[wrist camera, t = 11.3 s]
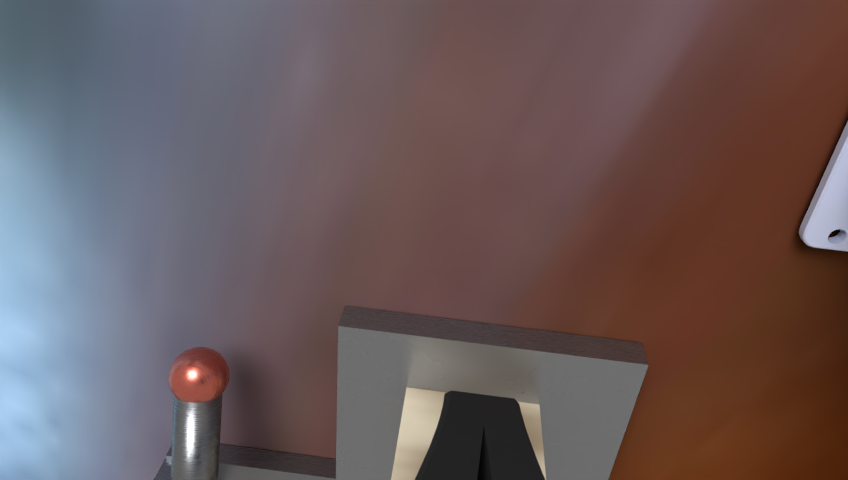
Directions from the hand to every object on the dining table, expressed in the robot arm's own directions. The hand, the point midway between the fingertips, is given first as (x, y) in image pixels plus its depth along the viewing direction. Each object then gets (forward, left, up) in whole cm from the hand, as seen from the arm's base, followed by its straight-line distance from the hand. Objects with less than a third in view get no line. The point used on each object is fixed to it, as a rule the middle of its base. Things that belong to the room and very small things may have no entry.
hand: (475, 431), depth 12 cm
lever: (+9, +11, -7) cm, 16 cm away
